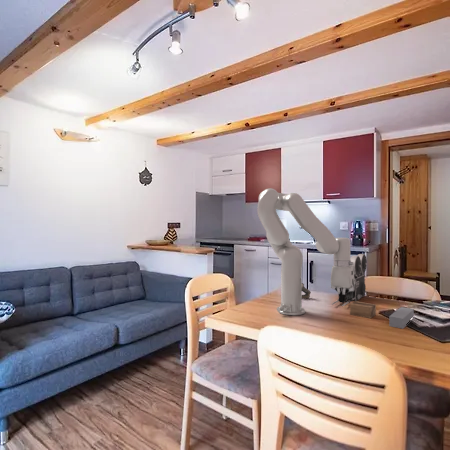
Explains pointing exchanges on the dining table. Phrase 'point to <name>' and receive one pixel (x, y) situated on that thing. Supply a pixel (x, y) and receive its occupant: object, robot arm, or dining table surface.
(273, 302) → the dining table surface
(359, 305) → the walnut block
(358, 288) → the film camera
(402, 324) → the board
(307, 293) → the futuristic pistol
